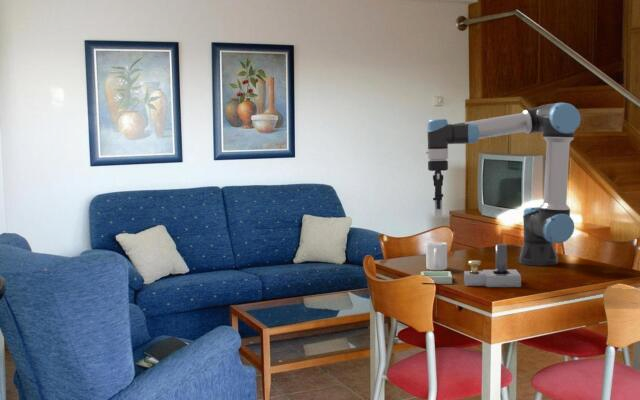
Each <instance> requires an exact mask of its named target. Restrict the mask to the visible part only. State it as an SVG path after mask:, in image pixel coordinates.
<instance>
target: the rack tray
mask: <svg viewBox="0 0 640 400" xmlns="http://www.w3.org/2000/svg"><path fill="white" fill-rule="evenodd" d="M421 275H425V276H428V277H430V278H432V279H433V280H434V281H435V283H436V284H437V285H438V284H439V285H440V284H441V285H443V284H444V285H447V284H448V285H449V284H450V285H452V284H453V276H452V272H451V271H450V270H449V271H447V270H446V271H445V270H428V271H420V276H421ZM436 284H435V285H436Z"/></svg>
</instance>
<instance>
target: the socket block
mask: <svg viewBox="0 0 640 400" xmlns="http://www.w3.org/2000/svg"><path fill="white" fill-rule="evenodd" d="M518 271H519V270H517V269H512V268H511V269H508V268H507V274H496V269H482V270H478V274H471V270H463V283H464V286H466V287H467V286H469V287H471V286H473V287H475V286H477V287H480V286H481V287H482V286H483V287H486V288H521V287H522V275H521V273H519V272H518Z"/></svg>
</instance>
